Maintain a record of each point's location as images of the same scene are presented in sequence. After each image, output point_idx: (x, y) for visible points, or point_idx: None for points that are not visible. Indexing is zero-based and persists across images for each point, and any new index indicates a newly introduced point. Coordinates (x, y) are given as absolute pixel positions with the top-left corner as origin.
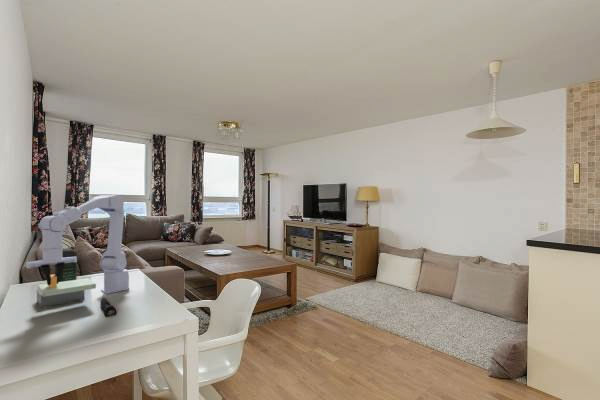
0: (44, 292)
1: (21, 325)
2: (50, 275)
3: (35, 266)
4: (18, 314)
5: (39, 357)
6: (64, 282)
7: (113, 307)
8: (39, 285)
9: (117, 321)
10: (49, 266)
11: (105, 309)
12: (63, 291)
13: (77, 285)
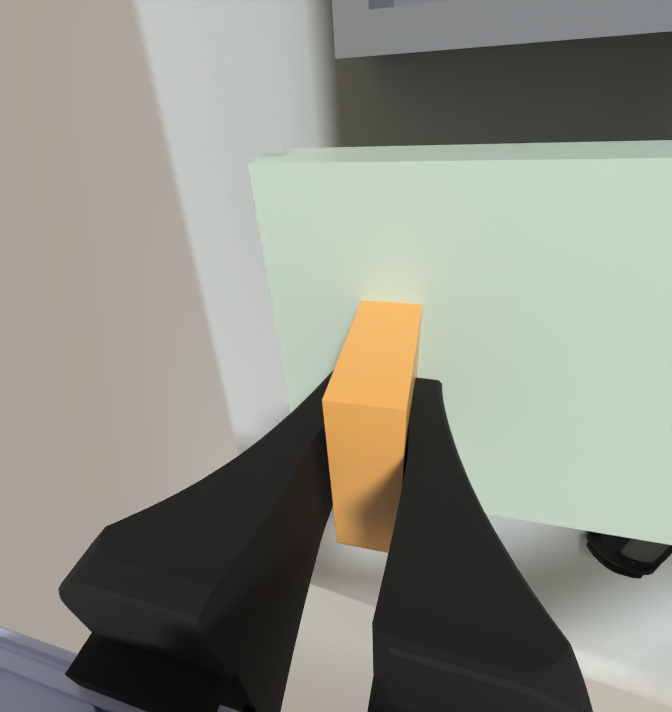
0: None
1: (268, 357)
2: (338, 447)
3: (34, 658)
4: (228, 119)
5: (322, 587)
6: (585, 256)
7: (648, 572)
8: (264, 212)
9: (579, 593)
10: (253, 705)
11: (610, 548)
12: None
13: (599, 502)
